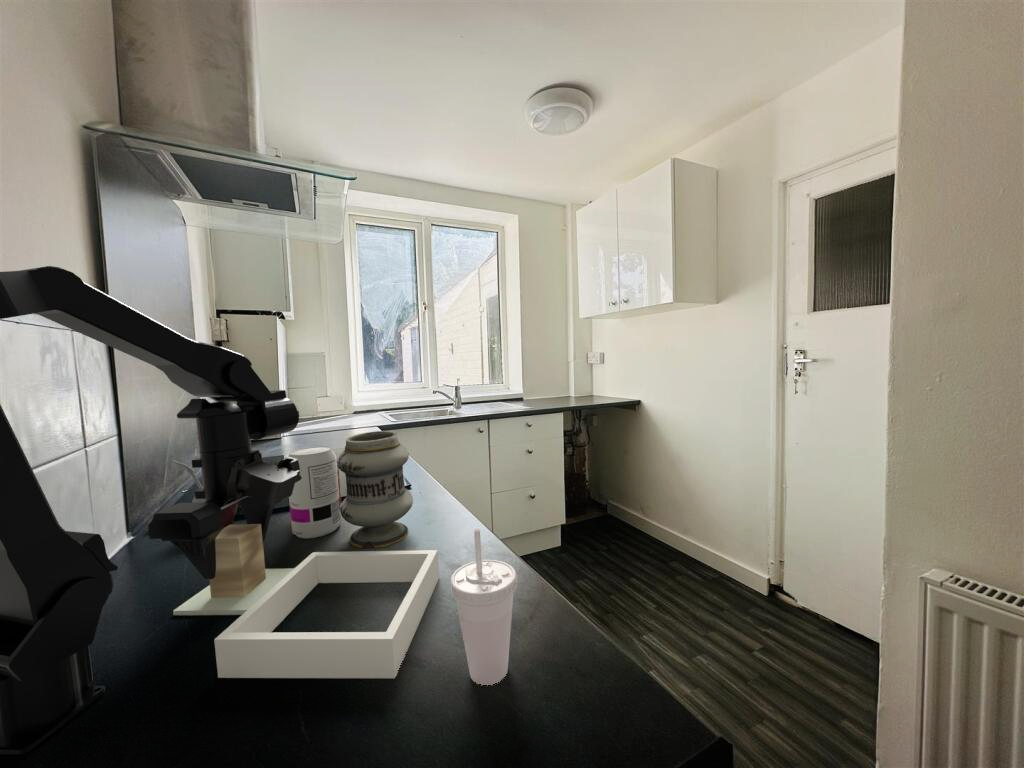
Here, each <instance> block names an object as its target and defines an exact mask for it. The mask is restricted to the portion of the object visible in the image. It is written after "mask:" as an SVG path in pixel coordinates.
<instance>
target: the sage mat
mask: <svg viewBox="0 0 1024 768" xmlns="http://www.w3.org/2000/svg"><path fill="white" fill-rule="evenodd" d="M295 568H296V567H293V568H290V567H289V568H265V573H266V579H265V580H264V581H263V582H262V583H260V584H259V585H258V586H257V587H256V588H254V589H253V590H252V591H251V592H250V593H249V594H247V595H246V596H245V597H230V598H211V591H210V584H209V585H208V586H206V587H204V588H203V589H201V590H200V591H199V592H198V593H196V594H195V595H193V596H192V597H190V598H189V599H187V600H186V601H185V602H183V603H182V604H181V605H179V606H177V607H176V608H175V609H173V616H238V615H239V616H241V615H243V614H244V613H245V612H246V611H247V610H248V609H249V608H250V607H252V606H253V605H254V604H255V603H256V602H257V601H258V600H259V599H261V598H262V597H263V596H264V595H265V594H266V593H267V592H269V591H270V590H271V589H272V588H273V587H274V586H275V585H276V584H278V583H279V582H280V581H281V580H282V579H283V578H284V577H286V576H287V575H288V574H289V573H290V572H291V571H292V570H293V569H295Z"/></svg>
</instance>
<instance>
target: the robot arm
mask: <svg viewBox="0 0 1024 768" xmlns="http://www.w3.org/2000/svg"><path fill="white" fill-rule="evenodd" d="M32 314H33V315H38V316H41V317H42V318H45V319H47V320H49V321H51V322H54V323H56V324H59V325H60V326H63V327H66V328H68V329H70V330H73V331H74V332H76V333H79V334H81V335H84V336H86V337H88V338H90V339H92V340H95V341H97V342H100V343H102V344H104V345H106V346H107V347H108V346H109V347H110V348H113V349H115V350H117V351H119V352H121V353H122V352H123V353H124V354H126V355H129V356H130V357H133V358H135V359H138V360H139V361H142V362H145V363H147V364H149V365H152V366H153V367H155V368H156V369H159V370H160V371H162V372H163V373H164V375H165V376H166V377H167V378H168V380H169V381H170V382H171V383H173V384H174V385H176V387H177V386H178V387H179V388H180V389H181V390H182V389H183V390H184V391H185V392H186V393H189V394H190V395H192V396H194V397H198V398H191V399H190V400H189V403H188V404H187V405H185V407H183V408H182V409H181V410H180V411H179V412H178V413H177V414H176V418H177V419H180V420H181V419H186V420H187V419H190V420H191V419H193V420H194V419H195V420H196V421H195V422H196V430H197V433H196V434H197V441H198V449H199V450H198V451H199V453H198V454H199V457H197V458H194V459H191V468H192V469H194V468H195V469H196V468H198V469H200V471H201V479H202V480H201V481H202V487H203V488H202V489H199V488H198V489H196V490H195V491H194V497H195V498H196V499H205V500H206V502H195V503H192V502H178V503H176V504H174V505H171V506H169V507H166V508H164V509H161V510H159V511H157V512H155V513H153V515H152V516H151V517H150V518H149V519H148V520H147V527H148V536H149V540H153V539H154V540H156V539H158V540H160V541H161V542H170V543H171V544H172V545H173V546H174V547H176V549H177V550H179V552H181V553H182V554H183V555H184V557H186V558H187V560H188V561H189V563H191V564H192V566H194V568H195V569H196V571H198V573H199V574H200V575H201V576H202V577H203V579H205V580H209V579H213V578H215V574H216V545H215V539H216V537H217V536H218V535H219V533H220V532H221V531H222V530H223V528H224V526H218V525H219V523H220V521H221V519H222V510H224V509H226V508H228V507H230V506H233V505H235V504H237V503H238V504H240V507H241V511H242V513H243V516H244V519H245V522H246V524H261V529H262V540H263V545H264V543H265V541H266V540H265V539H266V537H267V532H268V528H269V524H270V521H271V517H272V514H273V513H272V512H273V510H274V507H275V505H277V504H279V503H281V501H282V500H284V499H286V498H289V497H290V496H291V495H292V492H293V489H294V485H295V483H296V482H298V481H300V480H301V478H302V477H301V475H300V467H299V462H298V459H295V458H292V457H289V456H288V457H285V458H283V459H281V460H280V461H279V462H278V463H277V462H276V461H273V462H271V463H267V462H264V461H263V459H262V453H261V452H260V449H253V450H252V448H253V447H252V441H251V440H254V441H258V440H262V439H266V438H271V437H274V436H278V435H283V434H286V433H290V432H292V431H294V430H295V429H296V428H297V426H298V424H299V421H300V411H299V410H298V408H297V406H296V405H295V403H294V401H292V400H291V399H290V398H288V397H287V391H286V390H285V389H283V390H282V389H279V390H277V389H276V390H269V388H268V387H267V386H266V384H265V383H264V382H263V380H262V378H261V377H260V376H259V375H258V374H257V372H256V371H255V370H254V369H253V367H252V365H253V363H252V362H251V361H250V359H249V358H248V357H247V356H245V355H244V354H242V353H239V352H236V351H234V350H231V349H228V348H225V347H223V346H219V345H215V344H214V345H213V344H209V343H205V342H201V341H196V340H194V339H191V338H188V337H187V336H185V335H182V334H181V333H179V332H177V331H176V330H174V329H172V328H170V327H168V326H165V325H164V324H162V323H160V322H159V321H157V320H155V319H153V318H151V317H150V316H148V315H145V314H144V313H143V312H140V311H139V310H137V309H135V308H133V307H131V306H129V305H127V304H125V303H123V302H121V301H119V300H118V299H116V298H114V297H112V296H110V295H109V294H106V293H105V292H103V291H101V290H100V289H98V288H95V287H93V286H92V285H90V284H88V283H87V282H85V281H83V279H82V278H81V277H80V276H78V275H76V274H75V272H73V271H70V270H67V269H64V268H62V267H60V266H52V265H47V266H42V267H41V266H40V267H35V268H28V269H21V270H20V269H19V270H12V271H11V270H9V271H6V270H5V271H0V320H3V319H8V318H9V319H10V318H14V317H22V316H27V315H28V316H29V315H32ZM207 398H209V399H211V400H213V401H214V402H210V401H208V399H207ZM235 402H236V403H235ZM222 501H224V502H222ZM118 568H119V566H117V565H116V564H114V563H113V561H111V559H110V558H109V557H108V554H107V550H106V545H105V541H104V539H103V538H102V536H101V535H100V533H93V532H91V533H90V532H89V533H88V532H81V531H71V530H65V528H63V527H62V526H61V525H60V523H59V521H58V520H57V517H56V515H55V513H54V511H53V509H52V506H51V505H50V503H49V501H48V499H47V497H46V494H45V493H44V490H43V489H42V486H41V484H40V483H39V481H38V478H37V476H36V474H35V473H34V470H33V468H32V467H31V464H30V462H29V460H28V458H27V456H26V453H25V452H24V450H23V448H22V446H21V443H20V441H19V439H18V438H17V436H16V433H15V431H14V429H13V427H12V425H11V424H10V421H9V419H8V417H7V415H6V413H5V411H4V409H3V407H2V405H1V404H0V755H18V756H19V755H23V754H26V753H29V752H31V750H33V749H35V748H36V747H37V746H38V745H40V744H41V743H42V742H43V741H45V739H47V738H49V737H50V736H51V735H52V734H53V733H55V732H56V731H57V730H59V729H60V728H61V727H62V726H64V725H65V724H66V723H68V722H69V721H70V720H71V719H73V718H75V716H77V715H78V714H79V713H80V712H82V711H83V710H84V709H85V708H87V707H88V706H89V705H91V704H92V703H94V702H95V701H96V700H97V699H98V698H100V697H101V696H103V694H105V692H106V686H105V685H91V684H92V683H93V681H94V679H93V677H94V676H93V670H92V668H93V667H92V660H91V653H90V646H91V645H92V644H93V643H94V640H95V636H96V632H97V629H98V626H99V621H100V618H101V614H102V611H103V608H104V606H105V605H106V603H107V601H108V598H110V597H109V596H110V595H112V593H113V592H114V587H115V586H114V585H115V584H114V580H113V575H112V574H111V572H114V571H117V570H118Z"/></svg>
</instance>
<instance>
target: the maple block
mask: <svg viewBox="0 0 1024 768" xmlns="http://www.w3.org/2000/svg"><path fill="white" fill-rule="evenodd" d="M215 545H216V574H215V578H213V579H208V580H209V585H210V591H211V598H230V597H245V596H246V595H247V594H249V593H250V592H251V591H252V590H253V589H254V588H256V587H257V586H258V585H259V584H260V583H262V582H263V581H264V580H265V579H266V573H265V569H266V564H265V562H266V561H265V553H264V544H263V540H262V529H261V524H247V523H245V524H242V523H241V524H233V525H229V526H227V527H225V528H224V529H223V530H222V531H221V532H220V533H219V535H218V536H217V537H216V539H215Z"/></svg>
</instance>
